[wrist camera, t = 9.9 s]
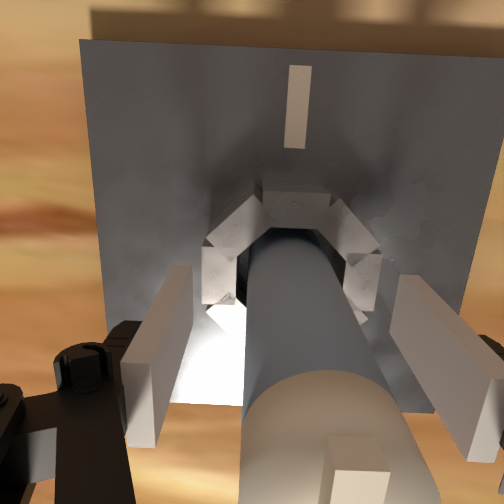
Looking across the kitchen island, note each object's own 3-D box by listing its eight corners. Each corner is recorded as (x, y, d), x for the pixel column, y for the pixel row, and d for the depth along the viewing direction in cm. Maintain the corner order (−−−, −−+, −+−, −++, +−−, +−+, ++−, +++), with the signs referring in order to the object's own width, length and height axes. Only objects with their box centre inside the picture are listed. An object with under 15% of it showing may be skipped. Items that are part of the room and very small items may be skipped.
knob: (319, 292, 22) (433, 624, 8) (247, 289, 21) (233, 618, 8) (327, 221, 20) (485, 475, 6) (250, 218, 20) (239, 466, 6)
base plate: (424, 397, 26) (457, 453, 21) (122, 383, 26) (95, 437, 21) (503, 63, 19) (574, 48, 15) (92, 44, 19) (44, 25, 15)
